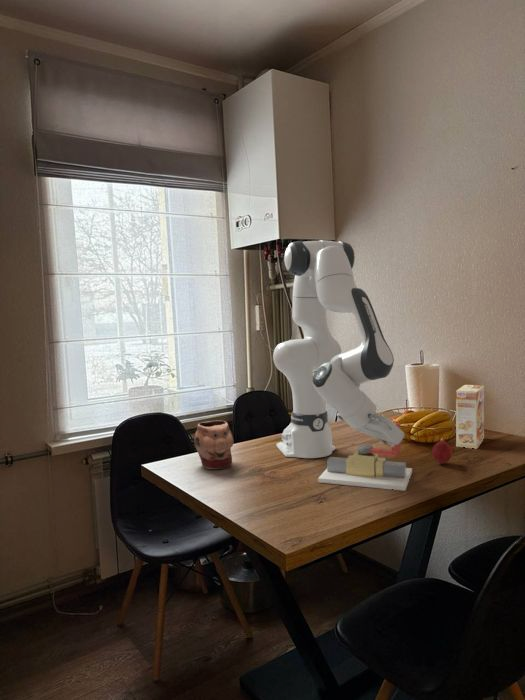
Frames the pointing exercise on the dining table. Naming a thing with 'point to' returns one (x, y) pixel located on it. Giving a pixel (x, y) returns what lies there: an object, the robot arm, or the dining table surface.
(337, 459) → the valve and pipe
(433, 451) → the onion
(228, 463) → the decorative planter
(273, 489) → the dining table surface
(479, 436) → the coffeecake box
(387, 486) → the mounting board
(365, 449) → the lever
